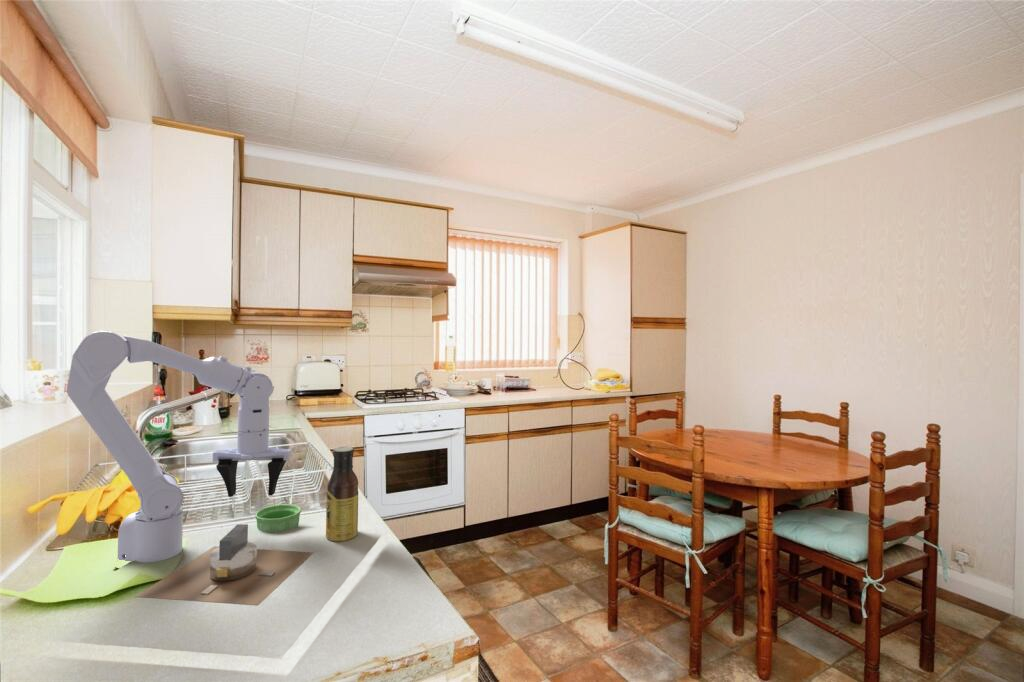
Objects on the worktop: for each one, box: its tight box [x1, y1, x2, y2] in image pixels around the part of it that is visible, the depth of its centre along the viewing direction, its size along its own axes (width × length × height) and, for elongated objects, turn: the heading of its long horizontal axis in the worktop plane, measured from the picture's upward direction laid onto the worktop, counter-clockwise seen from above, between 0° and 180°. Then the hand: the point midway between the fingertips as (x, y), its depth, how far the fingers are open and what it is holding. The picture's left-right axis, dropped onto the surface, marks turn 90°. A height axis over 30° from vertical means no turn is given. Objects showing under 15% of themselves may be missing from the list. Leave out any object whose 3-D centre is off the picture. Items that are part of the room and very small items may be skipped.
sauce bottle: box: [325, 445, 359, 543], centre depth 100 cm, size 7×6×20 cm
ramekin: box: [255, 503, 302, 533], centre depth 105 cm, size 9×9×4 cm
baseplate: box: [135, 545, 315, 606], centre depth 84 cm, size 20×18×2 cm
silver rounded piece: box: [210, 523, 258, 581], centre depth 83 cm, size 8×7×7 cm
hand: (252, 494), depth 100 cm, fingers open, 7 cm apart
